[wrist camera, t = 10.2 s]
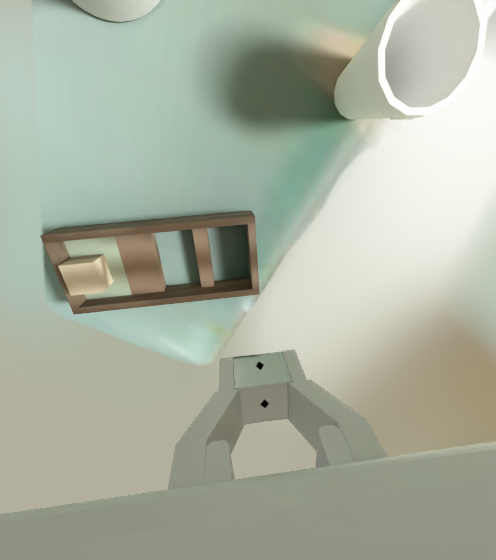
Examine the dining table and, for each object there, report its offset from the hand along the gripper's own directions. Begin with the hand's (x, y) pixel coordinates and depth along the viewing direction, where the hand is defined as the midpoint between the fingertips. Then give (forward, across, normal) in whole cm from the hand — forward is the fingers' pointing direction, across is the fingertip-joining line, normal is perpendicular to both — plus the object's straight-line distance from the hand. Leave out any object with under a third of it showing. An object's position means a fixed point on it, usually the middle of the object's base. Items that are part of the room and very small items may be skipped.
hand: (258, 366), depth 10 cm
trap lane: (+31, +11, +5) cm, 33 cm away
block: (+29, +21, +5) cm, 36 cm away
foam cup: (+31, -18, -15) cm, 39 cm away
